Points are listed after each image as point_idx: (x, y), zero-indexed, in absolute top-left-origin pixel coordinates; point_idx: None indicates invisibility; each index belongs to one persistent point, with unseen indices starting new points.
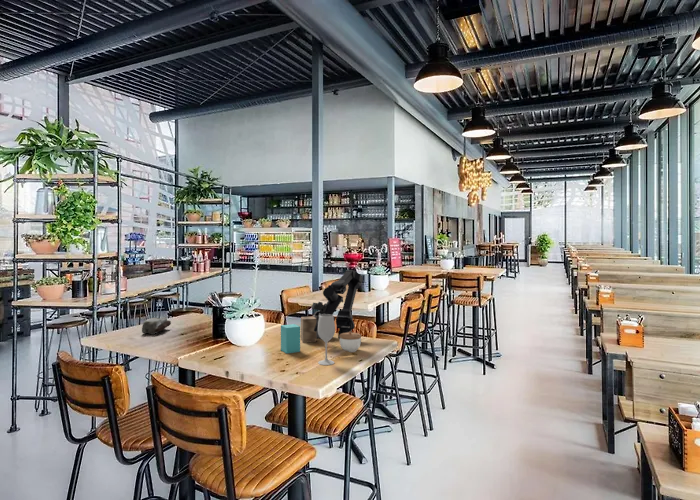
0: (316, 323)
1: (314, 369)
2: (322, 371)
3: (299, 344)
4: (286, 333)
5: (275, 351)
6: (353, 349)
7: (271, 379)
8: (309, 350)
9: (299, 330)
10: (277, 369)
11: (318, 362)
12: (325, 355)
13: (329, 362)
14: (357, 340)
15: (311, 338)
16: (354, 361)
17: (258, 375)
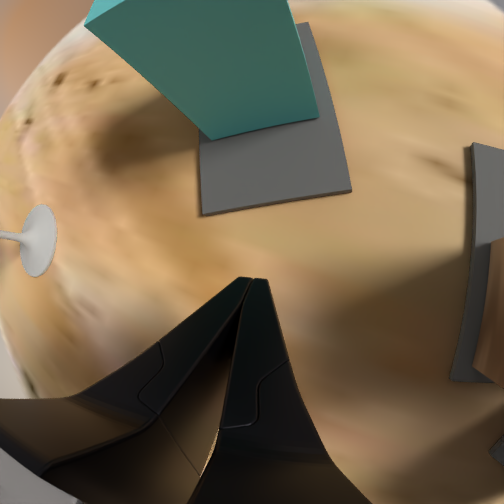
0: (249, 370)
1: (19, 176)
2: (3, 198)
3: (185, 111)
4: None
5: (325, 27)
6: None
7: (38, 66)
8: (265, 228)
9: (112, 43)
10: (75, 62)
11: (44, 206)
12: (12, 232)
13: (23, 247)
14: None
15: (494, 324)
16: (25, 356)
17: (73, 31)
